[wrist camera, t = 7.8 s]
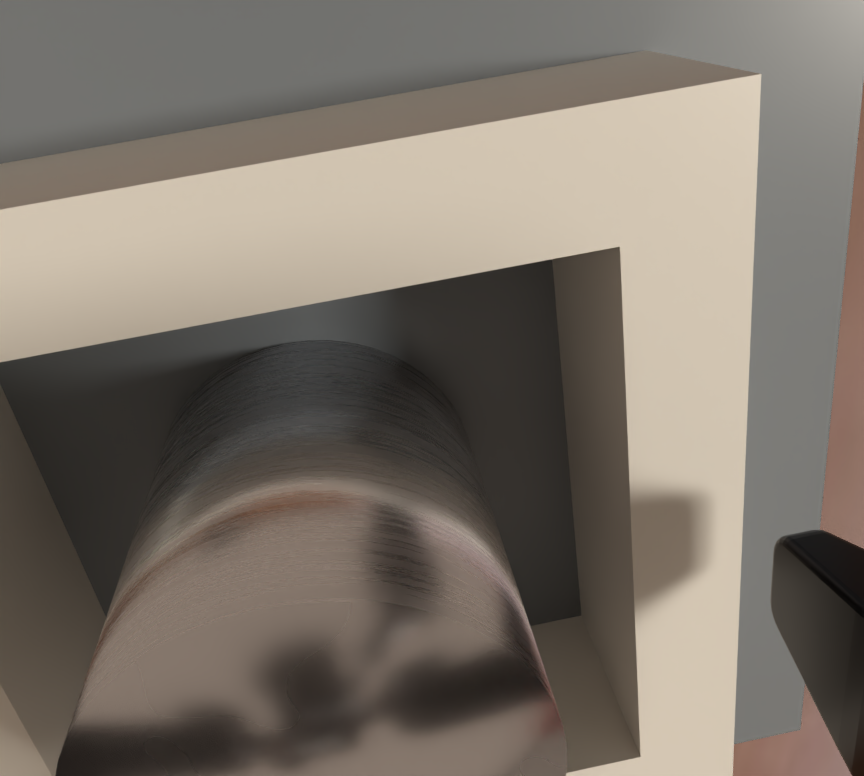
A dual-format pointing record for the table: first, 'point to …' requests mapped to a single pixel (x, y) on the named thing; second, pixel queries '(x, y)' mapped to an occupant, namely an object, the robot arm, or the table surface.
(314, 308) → the socket
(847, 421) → the table surface
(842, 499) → the table surface
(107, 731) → the grey cylinder
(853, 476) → the table surface
